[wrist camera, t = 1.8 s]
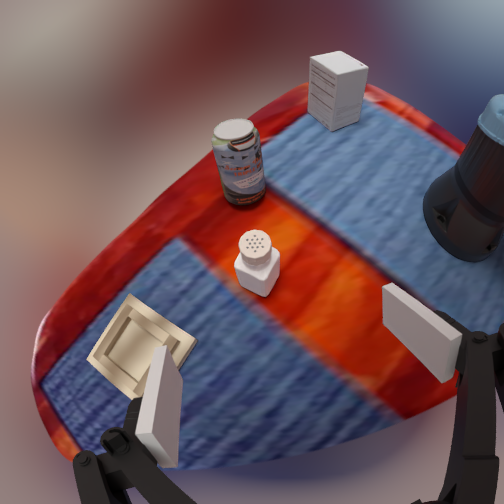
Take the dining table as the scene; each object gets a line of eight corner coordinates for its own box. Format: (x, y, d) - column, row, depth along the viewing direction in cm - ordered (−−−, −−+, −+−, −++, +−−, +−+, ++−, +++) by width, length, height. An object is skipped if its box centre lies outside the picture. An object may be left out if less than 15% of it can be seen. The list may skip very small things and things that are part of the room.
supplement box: (334, 102, 53) (340, 49, 42) (359, 122, 50) (370, 67, 39) (306, 111, 52) (308, 55, 41) (330, 133, 49) (338, 73, 38)
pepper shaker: (238, 285, 37) (226, 251, 29) (253, 260, 39) (247, 220, 30) (266, 300, 36) (263, 269, 28) (281, 273, 38) (282, 235, 29)
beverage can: (235, 217, 42) (222, 157, 31) (215, 183, 45) (200, 123, 35) (274, 200, 43) (273, 138, 32) (252, 168, 46) (245, 107, 35)
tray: (197, 340, 35) (192, 336, 32) (151, 412, 31) (143, 412, 29) (133, 296, 38) (125, 289, 36) (91, 360, 34) (81, 357, 32)
